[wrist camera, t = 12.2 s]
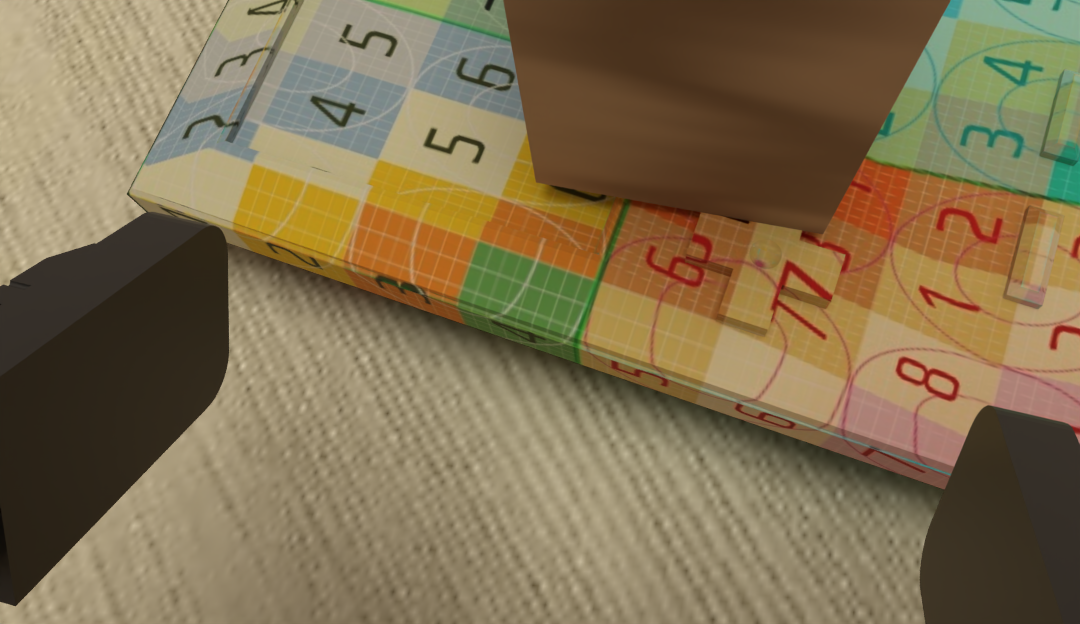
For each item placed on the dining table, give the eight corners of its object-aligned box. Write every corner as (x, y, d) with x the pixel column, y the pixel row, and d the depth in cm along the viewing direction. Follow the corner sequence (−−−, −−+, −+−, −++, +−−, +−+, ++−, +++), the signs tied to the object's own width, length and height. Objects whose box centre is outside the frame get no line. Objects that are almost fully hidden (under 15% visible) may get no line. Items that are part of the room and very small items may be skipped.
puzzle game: (1136, 524, 17) (105, 174, 20) (1026, 546, 21) (196, 257, 25) (1253, -43, 20) (340, -266, 23) (1135, 80, 24) (383, -122, 28)
